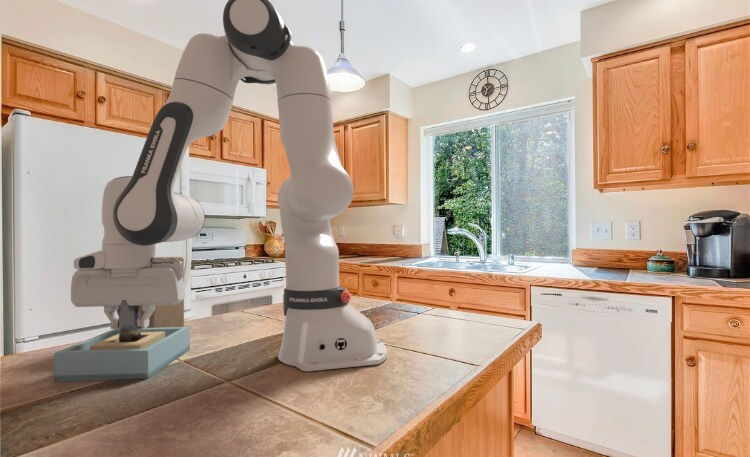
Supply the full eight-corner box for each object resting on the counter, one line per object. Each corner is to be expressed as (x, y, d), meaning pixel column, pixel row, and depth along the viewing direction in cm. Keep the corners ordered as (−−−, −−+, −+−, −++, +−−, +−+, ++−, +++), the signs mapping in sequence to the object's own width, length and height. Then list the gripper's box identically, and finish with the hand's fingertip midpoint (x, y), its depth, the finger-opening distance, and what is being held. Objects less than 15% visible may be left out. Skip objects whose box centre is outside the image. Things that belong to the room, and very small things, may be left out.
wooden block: (152, 349, 81) (152, 259, 81) (115, 347, 83) (115, 259, 83) (185, 336, 90) (184, 256, 91) (150, 334, 92) (150, 256, 93)
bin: (189, 349, 80) (189, 326, 80) (148, 378, 64) (148, 350, 64) (115, 351, 79) (114, 328, 79) (54, 381, 63) (54, 353, 63)
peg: (144, 345, 73) (144, 296, 74) (133, 351, 70) (133, 299, 70) (126, 346, 73) (126, 297, 73) (114, 352, 70) (114, 300, 70)
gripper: (190, 256, 76) (190, 322, 75) (88, 258, 74) (89, 325, 74) (175, 258, 69) (175, 330, 69) (64, 260, 68) (64, 333, 68)
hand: (130, 327), depth 72 cm, fingers closed on peg, 4 cm apart
